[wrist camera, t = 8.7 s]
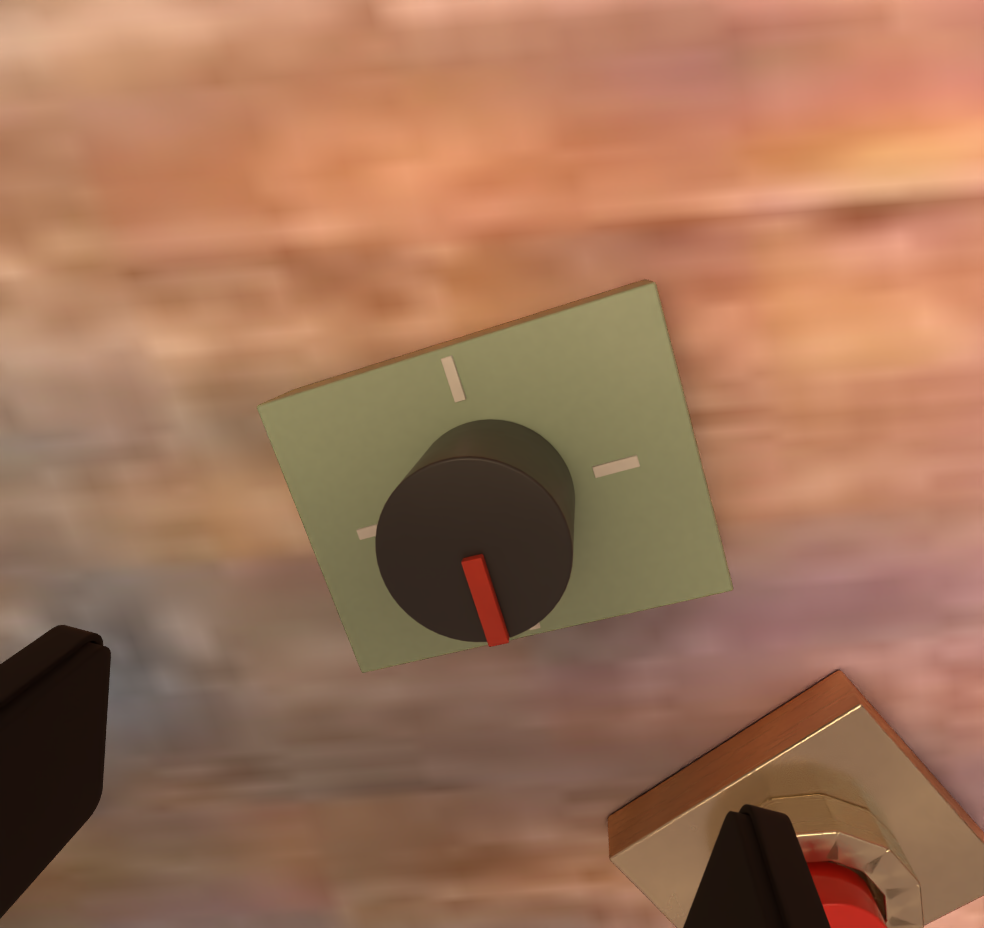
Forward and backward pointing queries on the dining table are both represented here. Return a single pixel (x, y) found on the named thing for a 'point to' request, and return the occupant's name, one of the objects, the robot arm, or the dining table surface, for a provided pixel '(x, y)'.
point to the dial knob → (480, 533)
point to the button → (845, 897)
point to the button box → (812, 810)
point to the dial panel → (540, 407)
